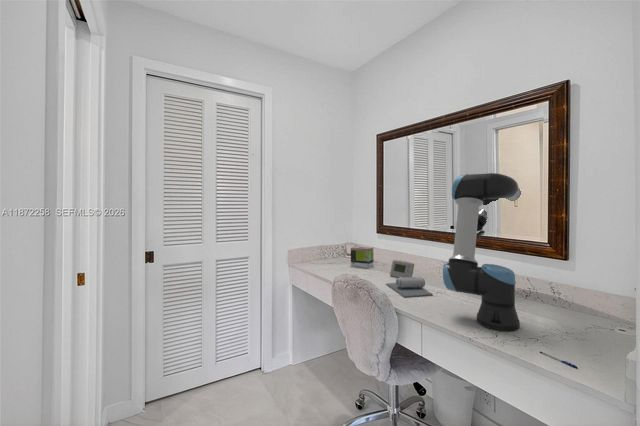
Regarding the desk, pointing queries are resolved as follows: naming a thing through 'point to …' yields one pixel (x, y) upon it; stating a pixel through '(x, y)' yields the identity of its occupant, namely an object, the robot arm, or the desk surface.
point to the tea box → (362, 257)
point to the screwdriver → (560, 360)
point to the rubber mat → (409, 291)
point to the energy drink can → (410, 282)
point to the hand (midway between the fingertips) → (457, 246)
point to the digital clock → (401, 269)
